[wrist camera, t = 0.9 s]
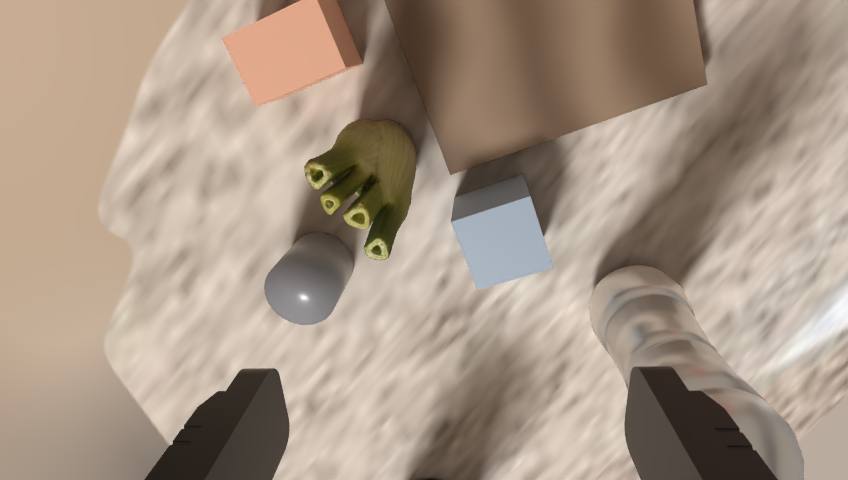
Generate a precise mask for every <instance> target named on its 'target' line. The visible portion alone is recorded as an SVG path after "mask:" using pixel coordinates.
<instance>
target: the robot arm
mask: <svg viewBox="0 0 848 480" xmlns="http://www.w3.org/2000/svg"><path fill="white" fill-rule="evenodd" d="M625 436H626V442H627V446H628V450H629V452H630V455H631V457H632V460H633V462H634V464H635V467H636V469H637V471H638V474H639V476H640V478H641V480H778V479H777V478H776V477H775V475H774V474H773V473H772V471H771V470H770V469H769V467H768V466H767V465H766V463H765V462H764V461H763V459H762V458H761V456H760V455H759V454H758V452H757V451H756V450H753V447H752V444H751V443H750V442H749V440H748V439H747V438H746V436H745V435H744V434H743V433H741V432H740V428H739V427H738V426H737V424H736V423H735V422H734V420H733V419H732V418H731V416H730V415H729V414H728V412H727V411H726V410H725V408H724V407H722V406H721V405H720V404H718V403H717V402H716V401H714V400H713V399H712V398H710V397H709V396H708V395H706V394H705V393H704V392H702V391H689V390H688V389H687V387H686V386H685V384H684V383H683V381H682V380H681V378H680V377H679V375H678V374H677V372H676V371H675V370H674V369H673V368H672V367H670V366H640V367H633V368H632V370H631V374H630V382H629V390H628V398H627V406H626V415H625ZM288 437H289V418H288V413H287V409H286V404H285V399H284V394H283V390H282V385H281V380H280V376H279V373H278V371H277V370H276V369H274V368H273V369H242V370H241V371H239V373H238V374H237V375H236V377H235V378H234V380H233V381H232V383H231V384H230V386H229V387H228V389H227V390H226V391H218V392H216V393H215V394H214V395H213V396H211V397H210V398H209V399H208V400H206V401H205V402H204V403H202V404H201V405H200V406H199V407H197V409H196V410H195V412H194V413H193V414H192V416H191V417H190V418H189V420H188V421H187V422H186V424H185V425H184V429H181V431H180V432H179V433H178V435H177V436H176V437H175V439H174V440H173V444H172V445H170V446H169V447H168V448H167V450H166V451H165V452H164V454H163V455H162V457H161V458H160V459H159V461H158V462H157V463H156V465H155V466H154V467H153V469H152V470H151V472H150V473H149V474H148V476H147V477H146V478H145V480H272V479H273V477H274V474H275V472H276V470H277V467H278V465H279V463H280V461H281V458H282V456H283V454H284V451H285V449H286V446H287V442H288Z"/></svg>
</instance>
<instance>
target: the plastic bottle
mask: <svg viewBox="0 0 848 480" xmlns="http://www.w3.org/2000/svg"><path fill="white" fill-rule="evenodd" d="M589 310H590V319H591V325H592V328H593V331H594V333H595V335H596V336H597V338H598V340H599V341H600V343H601V344H602V346H603V347H604V348H605V350H606V351H607V352H608V353H609V354H610V356H611V357H612V359H613V361H614V362H615V364H616V366H617V368H618V369H619V371H620V373H621V375H622V376H623V378H624V380H625V383H626V386H627V388H628V390H629V382H630V374H631V370H632V368H633V367H640V366H670V367H672V368H673V369H674V370H675V371H676V372H677V374H678V375H679V377H680V378H681V380H682V381H683V383H684V384H685V386H686V387H687V389H688V390H689V391H702V392H704V393H705V394H706V395H708V396H709V397H710V398H712V399H713V400H714V401H716V402H717V403H718V404H720V405H721V406H722V407H724V408H725V410H726V411H727V412H728V414H729V415H730V416H731V418H732V419H733V420H734V422H735V423H736V424H737V426H738V427H739V428H740V432H741V433H743V434H744V435H745V436H746V438H747V439H748V440H749V442H750V443H751V444H752V447H753V450H756V451H757V452H758V454H759V455H760V456H761V458H762V459H763V461H764V462H765V463H766V465H767V466H768V467H769V469H770V470H771V471H772V473H773V474H774V475H775V477H776V478H777V479H778V480H804V460H803V456H802V453H801V450H800V447H799V444H798V441H797V439H796V436H795V433H794V432H793V430H792V428H791V427H790V425H789V424H788V423H787V422H786V421H785V419H784V418H783V417H782V416H781V415H780V414H779V413H778V412H777V411H776V410H775V409H774V408H773V407H772V406H771V405H770V404H769V403H768V402H767V401H766V400H765V399H763V398H762V397H761V396H760V395H759V394H758V393H757V392H756V391H755V390H754V389H753V388H752V387H751V386H750V385H748V384H747V383H746V382H745V381H744V380H743V379H742V378H741V377H740V376H739V375H738V374H737V373H736V372H735V371H734V370H733V369H732V368H731V366H730V365H729V364H728V363H727V362H726V361H725V360H724V358H723V357H722V356H721V355H720V354H719V353H718V352H717V350H716V349H715V348H714V347H713V346H712V344H711V343H710V342H709V341H708V339H707V337H706V335H705V334H704V332H703V330H702V329H701V327H700V325H699V324H698V322H697V320H696V318H695V316H694V313H693V310H692V307H691V304H690V302H689V300H688V298H687V296H686V294H685V293H684V291H683V290H682V288H681V287H680V286H679V285H678V284H677V283H676V282H675V281H674V280H673V279H672V278H670V277H669V276H667V275H666V274H665V273H663V272H661V271H660V270H658V269H655V268H653V267H650V266H644V265H631V266H626V267H622V268H620V269H617V270H615V271H613V272H611V273H610V274H608V275H607V276H605V277H604V278H603V279H602V280H601V281H600V282H599V283H598V284H597V286H596V287H595V289H594V291H593V293H592V295H591V299H590V307H589Z"/></svg>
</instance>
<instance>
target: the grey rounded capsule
mask: <svg viewBox="0 0 848 480" xmlns="http://www.w3.org/2000/svg"><path fill="white" fill-rule="evenodd" d="M353 268H354V263H353V258H352V255H351V252H350V250H349V249H348V247H347V246H346V245H345V244H344V243H343V242H342V241H341V240H340V239H338V238H337V237H335V236H333V235H331V234H328V233H323V232H313V233H309V234H306V235H304V236H302V237H301V238H299V239H298V240H297V241H296V242H295V244H294V245H293V246H292V247H291V248H290V249H289V250H288V252H287V253H286V254H285V255H284V256H283V257H282V258H281V259H280V261H279V262H278V263H277V264H276V265H275V266H274V267H273V268H272V270H271V271H270V272H269V273H268V275H267V277H266V280H265V286H264V288H265V295H266V298H267V301H268V303H269V304H270V306H271V307H272V309H273V310H274V311H275V312H276V313H277V314H278V315H280V316H281V317H282V318H284V319H286V320H288V321H290V322H293V323H296V324H301V325H311V324H316V323H319V322H321V321H323V320H325V319H326V318H327V317H328V316H329V315H330V314H331V313H332V311H333V309H334V307H335V306H336V304H337V302H338V300H339V298H340V296H341V294H342V292H343V290H344V288H345V287H346V285H347V283H348V281H349V279H350V277H351V275H352V272H353Z"/></svg>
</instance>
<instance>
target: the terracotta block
mask: <svg viewBox="0 0 848 480" xmlns="http://www.w3.org/2000/svg"><path fill="white" fill-rule="evenodd" d="M222 40H223V42H224V44H225V46H226V48H227V50H228V52H229V54H230V56H231V58H232V60H233V62H234V64H235V66H236V68H237V70H238V72H239V74H240V76H241V78H242V80H243V82H244V84H245V86H246V88H247V90H248V92H249V94H250V96H251V98H252V100H253V102H254V104H255V106H260V105H263V104H266V103H269V102H272V101H275V100H278V99H282V98H284V97H287V96H289V95H291V94H294V93H296V92H298V91H301V90H303V89H305V88H308V87H310V86H312V85H315V84H317V83H319V82H322V81H324V80H326V79H329V78H331V77H333V76H336V75H338V74H340V73H343V72H345V71H347V70H350V69H352V68H354V67H357V66H359V65H361V64H363V63H362V60H361V58H360V55H359V53H358V50H357V48H356V46H355V43H354V41H353V38H352V36H351V33H350V31H349V28H348V26H347V24H346V21H345V19H344V16H343V14H342V11H341V9H340V6H339V4H338V2H337V0H300V1H298V2H296V3H294V4H292V5H290V6H288V7H286V8H284V9H282V10H280V11H277V12H275V13H273V14H271V15H269V16H267V17H265V18H263V19H261V20H259V21H257V22H255V23H253V24H250V25H248V26H246V27H244V28H242V29H240V30H238V31H236V32H234V33H232V34H230V35H228V36H226V37H223V38H222Z"/></svg>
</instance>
